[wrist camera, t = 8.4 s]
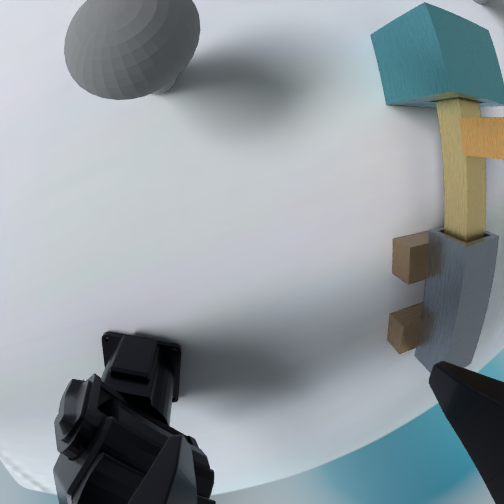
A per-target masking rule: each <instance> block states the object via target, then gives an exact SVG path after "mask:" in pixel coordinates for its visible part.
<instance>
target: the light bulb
mask: <svg viewBox="0 0 504 504" xmlns="http://www.w3.org/2000/svg"><path fill="white" fill-rule="evenodd" d="M199 35H200V21H199V14H198V11H197V8H196V6H195V4H194V3H193V2H192V0H87V1H86V2H85V3H84V4H83V5H82V6H81V7H80V8H79V10H78V11H77V12H76V14H75V15H74V17H73V19H72V21H71V23H70V25H69V28H68V31H67V34H66V38H65V47H64V54H65V60H66V65H67V67H68V70H69V72H70V74H71V76H72V77H73V79H74V80H75V81H76V82H77V84H78V85H79V86H80V87H82V88H83V89H85V90H86V91H88V92H89V93H91V94H94V95H97V96H99V97H102V98H107V99H115V100H124V99H134V98H138V97H143V96H146V95H148V94H160V93H163V92H165V91H167V90H168V89H169V88H171V87H172V85H173V84H174V82H175V80H176V78H177V76H178V75H179V74H180V73H181V72H182V71H183V70H184V69H185V68H186V66H187V65H188V63H189V61H190V60H191V58H192V57H193V55H194V52H195V50H196V47H197V45H198V41H199Z"/></svg>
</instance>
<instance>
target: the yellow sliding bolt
mask: <svg viewBox="0 0 504 504" xmlns="http://www.w3.org/2000/svg"><path fill="white" fill-rule="evenodd" d="M435 101H436V107H437V113H438V120H439V127H440V135H441V144H442V155H443V169H444V192H445V222H444V234H446V235H449V236H451V237H453V238H456V239H458V240H461V241H463V242H465V243H468V242H471V241H474V240H478V239H481V238H484V234H485V218H486V165H485V158H493V159H501V160H504V117H481V115H480V108H479V102H478V101H476V100H471V99H467V98H462V97H454V98H447V99H441V100H435Z"/></svg>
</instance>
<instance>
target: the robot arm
mask: <svg viewBox="0 0 504 504" xmlns="http://www.w3.org/2000/svg"><path fill="white" fill-rule="evenodd" d="M106 337H108V338H109V339H110V340H108V339H107V338H106ZM102 347H103V356H104V364H105V370H104V372H103V375H102V377H101V378H100V377H99V376H97V375H96V374H93V375H92V376H91V377H90V378H89V379H88V380H86V381H84V380H76V379H72V380H71V381H70V382H69V384H68V386H67V388H66V390H65V392H64V394H63V396H62V399H61V402H60V407H59V414H58V415H57V417H56V419H55V422H54V424H55V434H56V443H57V449H58V452H60V455H59V458H58V460H57V462H56V464H55V466H54V469H53V473H54V479H55V485H56V490H57V495H58V500H59V504H215V503H216V502H215V501H214V500H211V499H209V498H210V495H211V492H212V488H213V484H214V471H213V470H212V469H210V466H209V463H208V459H207V456H206V455H205V454H204V453H203V451H202V450H201V449H199V447H198V445H197V442H196V440H195V439H194V438H192V437H190V436H186V435H184V434H182V433H181V432H179V431H177V430H175V429H173V428H172V427H170V415H171V405H172V402H177V401H178V396H179V379H180V364H181V351H182V349H181V346H180V345H178V344H175V343H168V342H161V341H155V340H151V339H145V338H139V337H133V336H128V335H120V334H115V333H110V332H105V333H104V334H103V336H102ZM173 349H176V350H178V351H173ZM429 384H430V387H431V389H432V390H433V392H434V394H435V396H436V398H437V400H438V402H439V405H440V407H441V409H442V410H443V412H444V414H445V416H446V418H447V419H448V421H449V422H450V424H451V426H452V427H453V429H454V431H455V432H456V434H457V435H458V437H459V438H460V440H461V442H462V444H463V445H464V447H465V448H466V450H467V452H468V454H469V455H470V457H471V459H472V460H473V462H474V464H475V466H476V468H477V469H478V471H479V473H480V475H481V476H482V478H483V480H484V482H485V484H486V486H487V488H488V490H489V492H490V494H491V496H492V498H493V499H494V501H495V503H496V504H504V382H502V381H499V380H496V379H493V378H490V377H487V376H484V375H482V374H479V373H476V372H473V371H470V370H468V369H465V368H462V367H459V366H457V365H454V364H451V363H449V362H446V361H440V362H438V363H436V364H434V365H433V367H432V371H431V374H430V378H429Z"/></svg>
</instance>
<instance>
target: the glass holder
mask: <svg viewBox="0 0 504 504" xmlns="http://www.w3.org/2000/svg"><path fill="white" fill-rule="evenodd" d="M474 1H475V2H477V3H479V4H486V3H487V1H488V0H474Z"/></svg>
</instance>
